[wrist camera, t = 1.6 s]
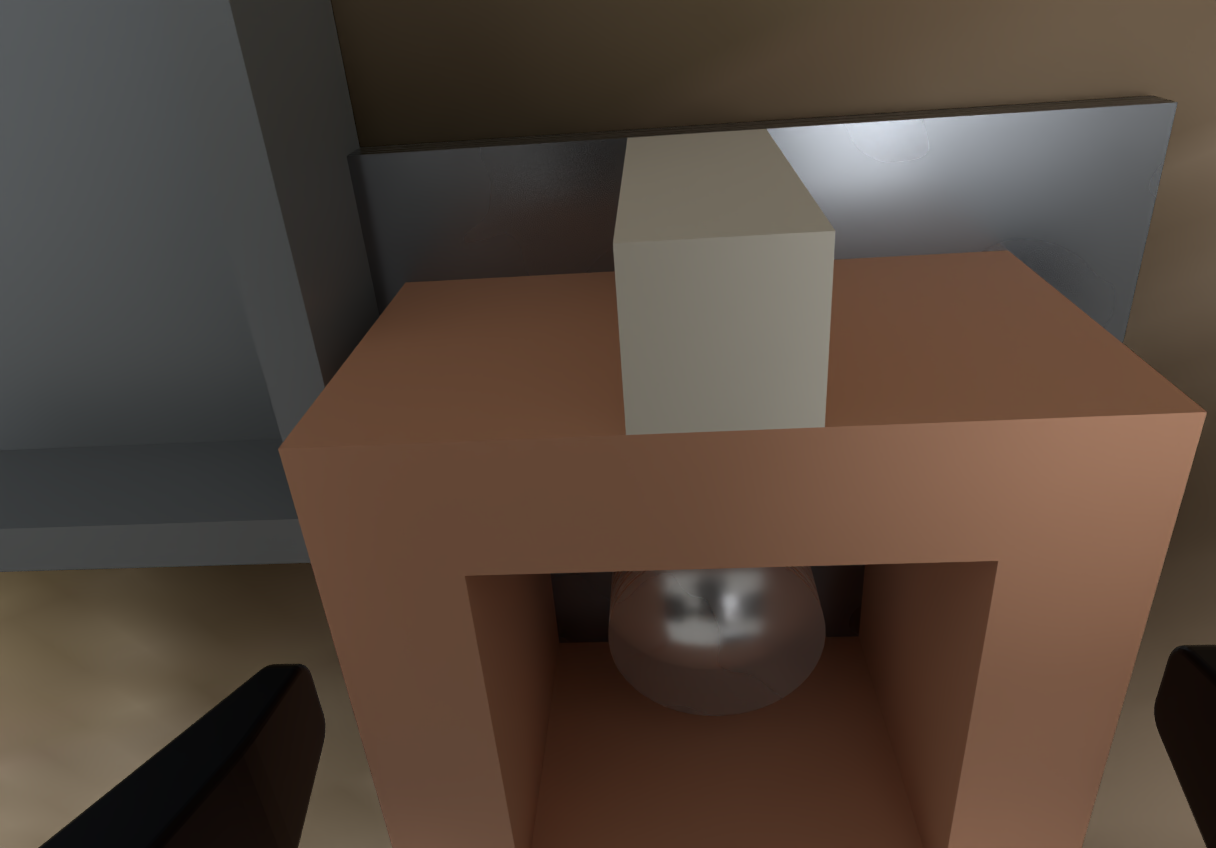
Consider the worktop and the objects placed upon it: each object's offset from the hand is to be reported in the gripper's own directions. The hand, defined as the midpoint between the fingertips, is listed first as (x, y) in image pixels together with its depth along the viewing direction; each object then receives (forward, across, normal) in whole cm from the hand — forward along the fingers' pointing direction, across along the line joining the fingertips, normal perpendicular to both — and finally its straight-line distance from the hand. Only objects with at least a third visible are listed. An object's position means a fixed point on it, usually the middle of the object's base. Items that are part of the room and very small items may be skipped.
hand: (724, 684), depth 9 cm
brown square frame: (+3, 0, 0) cm, 3 cm away
